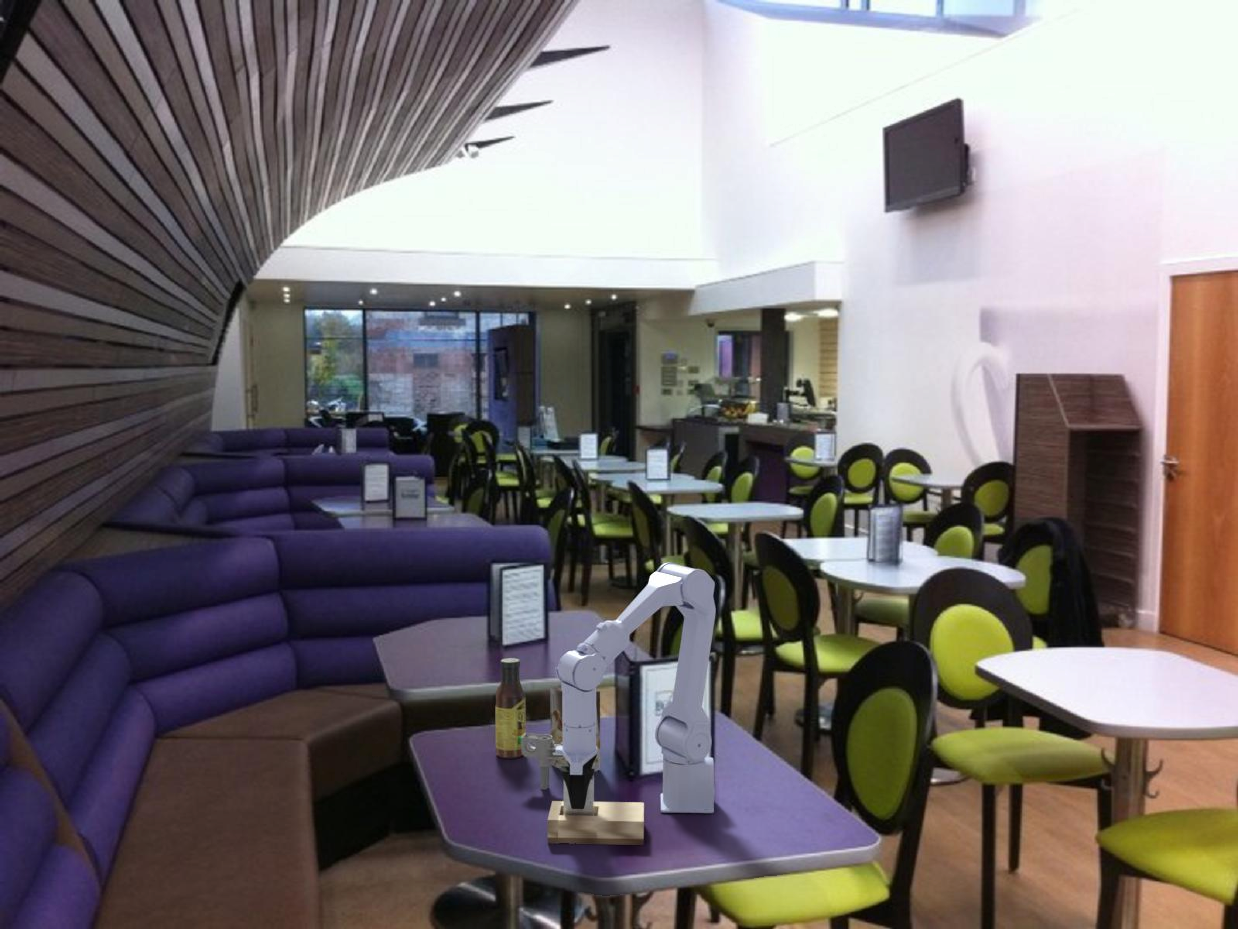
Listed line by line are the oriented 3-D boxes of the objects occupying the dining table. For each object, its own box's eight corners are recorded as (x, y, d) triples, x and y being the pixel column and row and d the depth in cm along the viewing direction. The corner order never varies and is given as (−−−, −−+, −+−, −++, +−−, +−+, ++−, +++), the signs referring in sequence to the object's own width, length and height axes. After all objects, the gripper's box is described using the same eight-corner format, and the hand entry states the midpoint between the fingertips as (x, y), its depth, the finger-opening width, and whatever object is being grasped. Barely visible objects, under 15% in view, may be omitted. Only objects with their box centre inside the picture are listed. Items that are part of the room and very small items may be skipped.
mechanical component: (568, 793, 194) (568, 741, 193) (516, 789, 196) (516, 737, 195) (572, 787, 197) (572, 736, 196) (521, 783, 199) (521, 732, 198)
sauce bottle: (523, 760, 211) (523, 664, 210) (493, 760, 211) (493, 664, 210) (527, 749, 218) (527, 656, 216) (497, 749, 218) (497, 656, 216)
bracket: (593, 825, 177) (593, 774, 176) (593, 831, 175) (593, 779, 174) (564, 824, 177) (564, 773, 177) (563, 830, 175) (563, 779, 174)
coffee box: (602, 770, 206) (602, 691, 204) (576, 778, 201) (576, 697, 200) (573, 758, 213) (573, 681, 211) (548, 765, 208) (548, 687, 207)
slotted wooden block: (643, 825, 180) (643, 802, 179) (643, 845, 172) (643, 821, 171) (552, 823, 180) (552, 801, 180) (547, 843, 172) (547, 820, 172)
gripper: (559, 709, 182) (559, 784, 183) (551, 736, 168) (551, 818, 168) (599, 709, 182) (599, 785, 183) (594, 737, 167) (594, 818, 168)
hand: (579, 801), depth 176 cm, fingers open, 6 cm apart
